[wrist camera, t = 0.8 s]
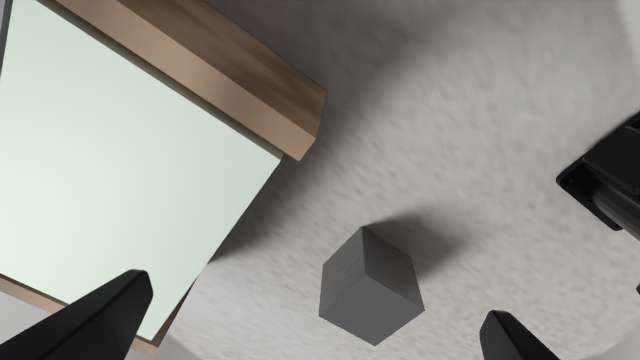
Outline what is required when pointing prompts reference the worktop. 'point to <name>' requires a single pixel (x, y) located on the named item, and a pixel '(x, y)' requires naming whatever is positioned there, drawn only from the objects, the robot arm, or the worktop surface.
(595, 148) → the robot arm
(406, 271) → the block
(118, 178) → the trapdoor
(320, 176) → the worktop surface
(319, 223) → the worktop surface
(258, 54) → the frame
